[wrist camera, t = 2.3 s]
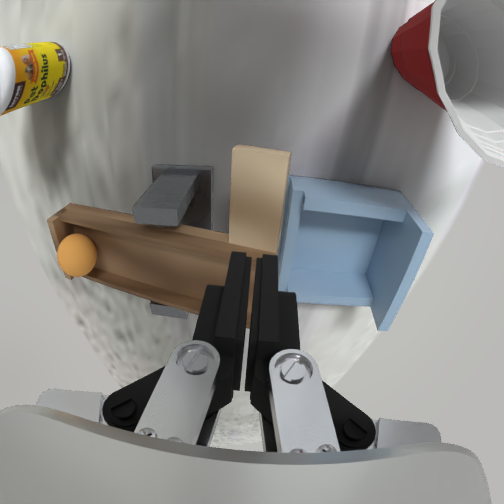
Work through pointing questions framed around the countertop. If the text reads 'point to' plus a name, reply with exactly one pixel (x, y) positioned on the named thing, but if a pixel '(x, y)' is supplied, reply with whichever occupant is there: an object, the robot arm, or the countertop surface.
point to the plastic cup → (459, 67)
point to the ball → (77, 255)
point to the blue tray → (350, 245)
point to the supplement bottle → (31, 73)
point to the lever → (186, 237)
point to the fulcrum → (177, 206)
